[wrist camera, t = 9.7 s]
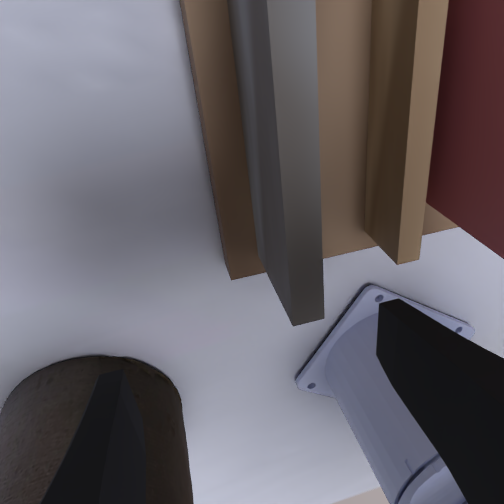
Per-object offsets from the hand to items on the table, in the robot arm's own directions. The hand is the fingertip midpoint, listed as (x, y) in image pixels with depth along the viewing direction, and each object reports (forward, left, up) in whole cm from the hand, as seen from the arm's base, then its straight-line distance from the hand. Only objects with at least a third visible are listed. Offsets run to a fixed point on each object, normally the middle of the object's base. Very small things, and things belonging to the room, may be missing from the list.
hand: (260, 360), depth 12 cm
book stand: (-5, -9, -9) cm, 14 cm away
